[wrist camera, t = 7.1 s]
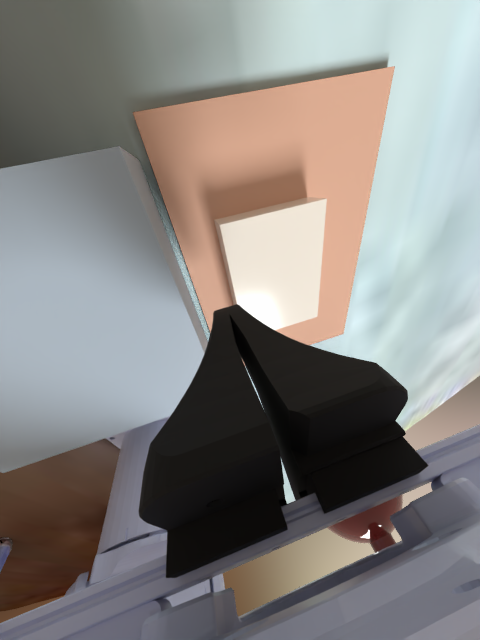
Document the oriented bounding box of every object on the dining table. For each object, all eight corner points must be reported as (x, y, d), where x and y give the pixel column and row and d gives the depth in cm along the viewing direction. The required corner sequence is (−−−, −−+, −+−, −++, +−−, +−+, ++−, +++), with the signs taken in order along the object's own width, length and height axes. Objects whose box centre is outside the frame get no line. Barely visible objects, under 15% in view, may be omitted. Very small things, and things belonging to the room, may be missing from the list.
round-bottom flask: (325, 442, 39) (428, 623, 23) (268, 451, 34) (349, 690, 18) (365, 401, 32) (547, 609, 16) (303, 403, 27) (476, 706, 11)
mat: (340, 331, 21) (343, 333, 20) (223, 369, 19) (224, 372, 19) (387, 70, 10) (394, 66, 10) (134, 115, 9) (132, 111, 8)
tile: (244, 339, 15) (238, 324, 16) (317, 316, 15) (304, 304, 17) (219, 224, 10) (214, 219, 11) (327, 198, 10) (307, 197, 12)
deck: (215, 361, 18) (222, 398, 15) (37, 418, 17) (3, 472, 14) (139, 160, 9) (119, 146, 6) (-257, 239, 8) (-556, 275, 5)
